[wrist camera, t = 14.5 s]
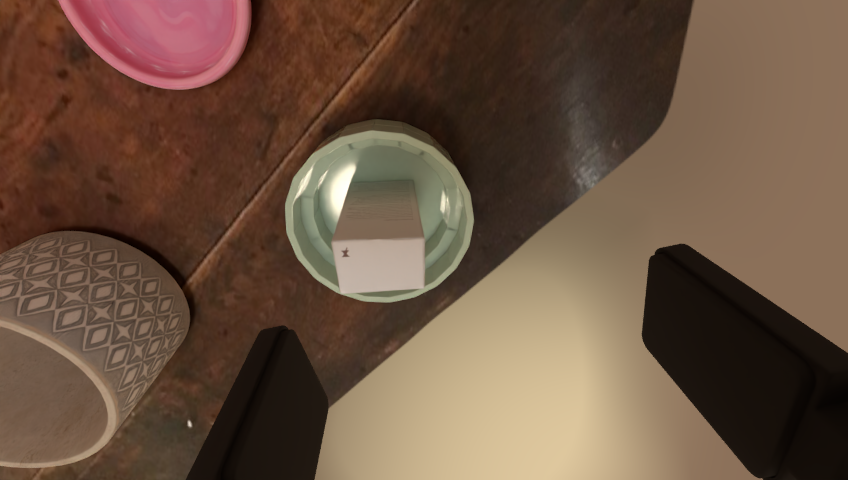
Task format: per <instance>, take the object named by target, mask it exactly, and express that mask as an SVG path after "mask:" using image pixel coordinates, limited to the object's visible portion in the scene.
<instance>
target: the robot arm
mask: <svg viewBox="0 0 848 480" xmlns="http://www.w3.org/2000/svg"><path fill="white" fill-rule="evenodd" d="M642 339H643V342H644V344H645V346H646V348H647V349H648V350H649V352H650V353H651V354H652V355H653V357H654V358H655V359H656V360H657V361H658V362H659V364H660V365H661V366H662V367H663V368H664V370H665V371H666V372H667V373H668V375H669V376H670V377H671V378H672V379H673V381H674V382H675V383H676V384H677V385H678V386H679V388H680V389H681V390H682V391H683V393H684V394H685V395H686V396H687V397H688V399H689V400H690V401H691V402H692V403H693V404H694V406H695V407H696V408H697V409H698V411H699V412H700V413H701V414H702V415H703V417H704V418H705V419H706V420H707V421H708V423H709V424H710V425H711V426H712V428H713V429H714V430H715V431H716V432H717V434H718V435H719V436H720V437H721V438H722V440H723V441H724V442H725V443H726V444H727V445H728V447H729V448H730V449H731V450H732V451H733V453H734V454H735V455H736V456H737V458H738V459H739V460H740V461H741V462H742V463H743V465H744V466H745V467H746V468H747V470H748V471H749V472H750V473H751V474H753V475H754V476H755V477H758V478H763V480H848V353H847V352H845V351H844V350H842V349H841V348H839V347H838V346H837V345H835V344H833V343H832V342H830V341H829V340H828V339H826V338H825V337H823V336H822V335H820V334H819V333H817V332H816V331H814V330H813V329H811V328H809V327H808V326H807V325H805V324H804V323H802V322H801V321H799V320H798V319H796V318H795V317H793V316H792V315H790V314H789V313H787V312H786V311H785V310H783V309H782V308H780V307H778V306H777V305H776V304H774V303H773V302H771V301H770V300H768V299H767V298H765V297H764V296H762V295H761V294H759V293H758V292H756V291H755V290H753V289H752V288H750V287H749V286H747V285H746V284H745V283H743V282H742V281H740V280H739V279H737V278H736V277H734V276H733V275H731V274H730V273H728V272H727V271H725V270H723V269H722V268H721V267H719V266H718V265H716V264H714V263H713V262H712V261H710V260H709V259H707V258H706V257H704V256H703V255H701V254H700V253H699V252H697V251H696V250H694V249H693V248H691V247H690V246H688V245H685V244H678V245H673V246H668V247H663V248H659V249H657V250H656V252H655V255H653V256H651V257H650V259H649V268H648V277H647V287H646V297H645V308H644V318H643V328H642ZM327 414H328V399H327V396H326V394H325V391H324V389H323V387H322V385H321V383H320V381H319V379H318V377H317V375H316V373H315V371H314V369H313V367H312V365H311V363H310V361H309V359H308V357H307V355H306V353H305V351H304V349H303V347H302V345H301V343H300V341H299V339H298V336H297V334H296V333H295V331H294V330H292V329H291V330H288V328H287V327H286V326H278V327H273V328H268V329H263V330H261V331H260V333H259V334H258V336H257V338H256V340H255V342H254V344H253V346H252V348H251V350H250V352H249V354H248V356H247V358H246V360H245V362H244V364H243V366H242V368H241V370H240V372H239V374H238V376H237V378H236V380H235V382H234V384H233V386H232V388H231V390H230V392H229V394H228V396H227V398H226V400H225V402H224V404H223V406H222V408H221V410H220V412H219V414H218V416H217V418H216V420H215V422H214V424H213V426H212V428H211V430H210V432H209V434H208V436H207V438H206V440H205V442H204V444H203V446H202V448H201V450H200V452H199V454H198V456H197V458H196V460H195V462H194V464H193V466H192V468H191V470H190V472H189V474H188V476H187V478H186V480H314V479H315V474H316V469H317V464H318V458H319V454H320V449H321V444H322V438H323V434H324V429H325V424H326V419H327Z"/></svg>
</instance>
